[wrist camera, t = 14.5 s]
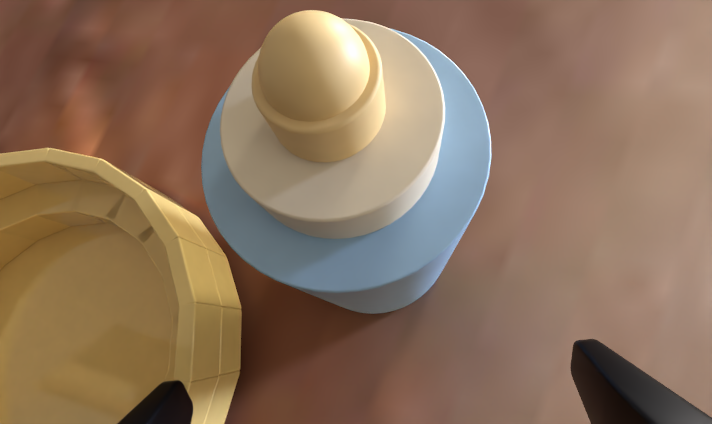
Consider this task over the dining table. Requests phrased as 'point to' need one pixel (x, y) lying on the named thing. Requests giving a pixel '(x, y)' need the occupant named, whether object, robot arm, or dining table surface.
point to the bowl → (107, 295)
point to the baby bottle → (347, 161)
